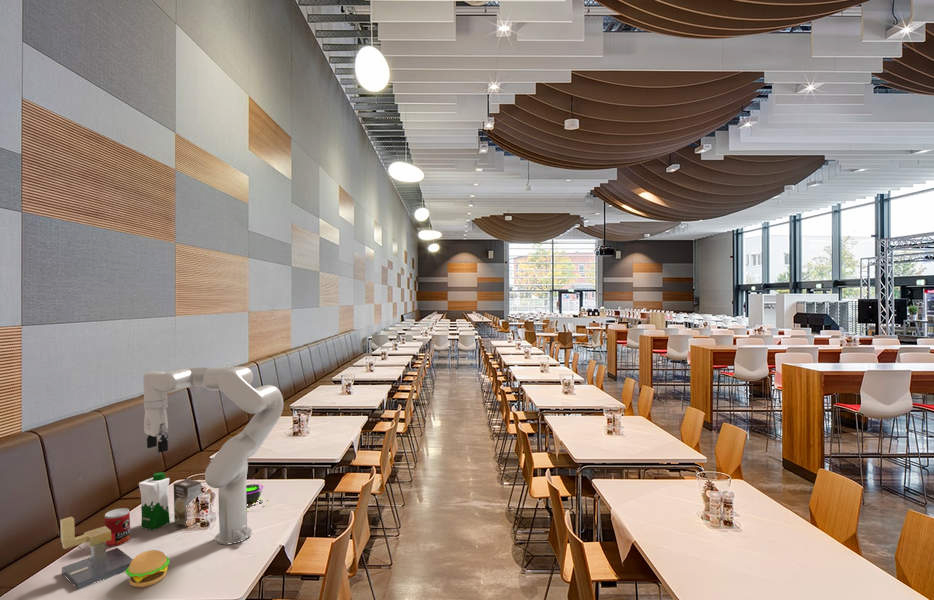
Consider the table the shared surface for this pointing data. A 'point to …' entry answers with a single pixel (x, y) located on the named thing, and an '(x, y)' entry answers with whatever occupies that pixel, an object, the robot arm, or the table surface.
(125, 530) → the canned food
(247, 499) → the toy cauldron
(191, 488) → the coffee box
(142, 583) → the hamburger
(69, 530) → the wooden zigzag joint
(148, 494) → the milk carton
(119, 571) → the grey slotted plate
